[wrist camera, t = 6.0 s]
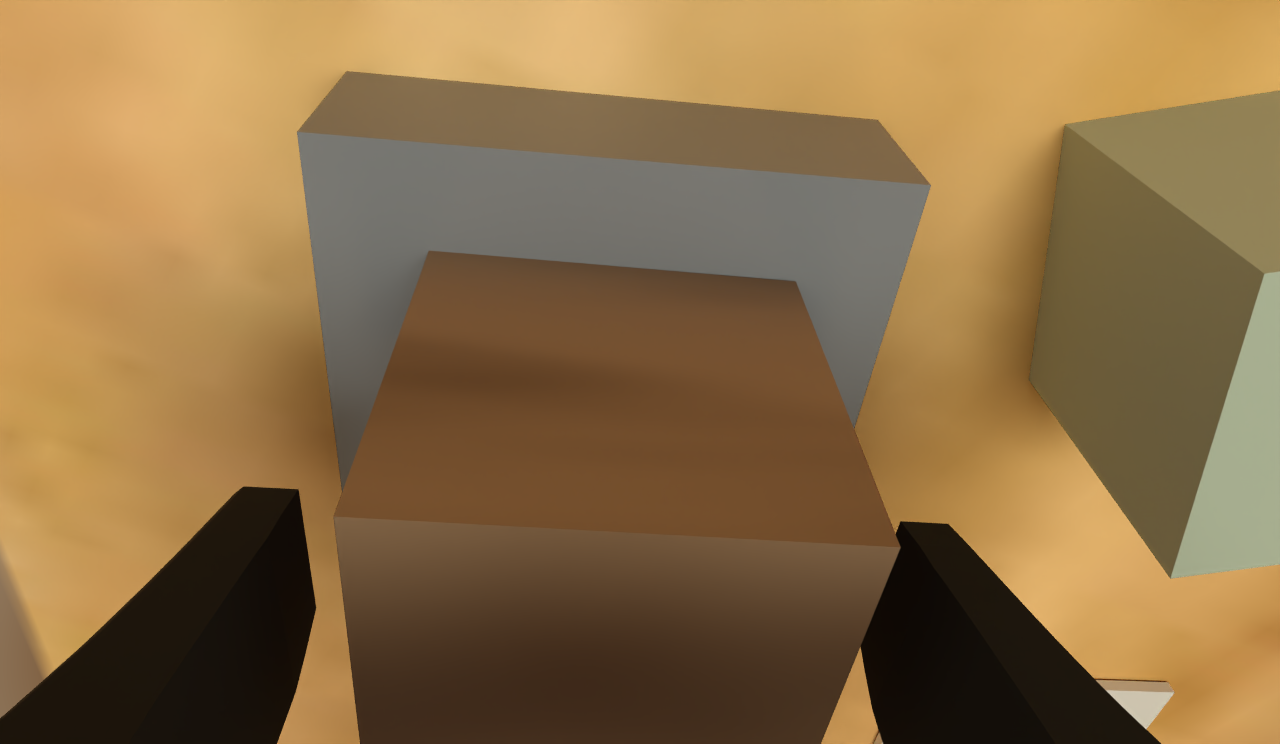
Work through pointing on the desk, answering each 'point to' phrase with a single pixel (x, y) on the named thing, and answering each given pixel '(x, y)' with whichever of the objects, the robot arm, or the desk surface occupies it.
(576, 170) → the slate slab
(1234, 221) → the sage block
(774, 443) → the walnut block
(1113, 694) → the placard
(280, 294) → the desk surface
